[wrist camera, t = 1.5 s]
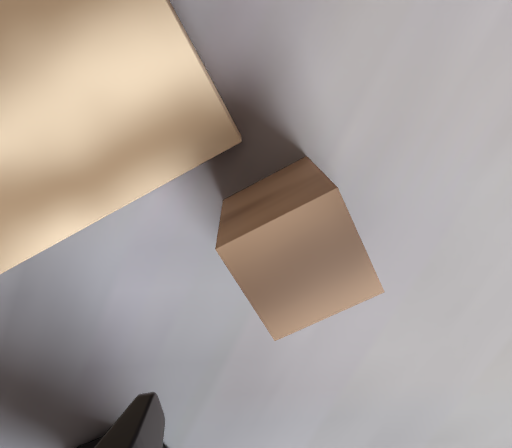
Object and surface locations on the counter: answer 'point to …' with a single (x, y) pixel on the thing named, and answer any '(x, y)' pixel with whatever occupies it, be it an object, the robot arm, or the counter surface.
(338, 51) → the counter surface
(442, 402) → the counter surface
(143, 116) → the birch base
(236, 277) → the walnut block
